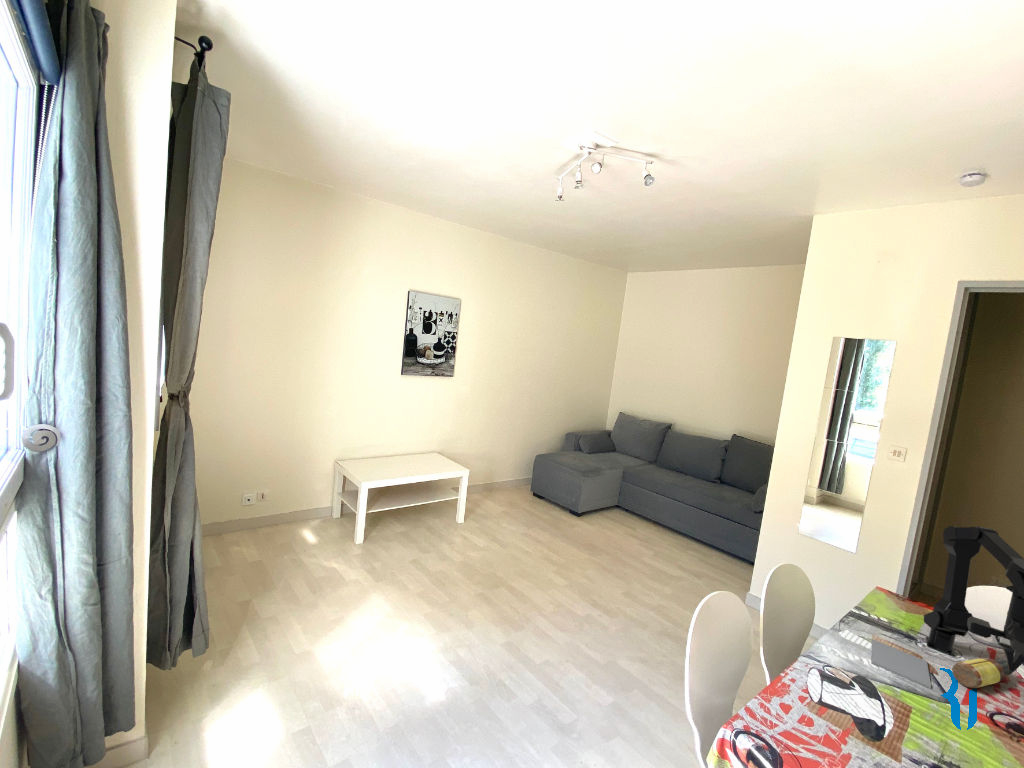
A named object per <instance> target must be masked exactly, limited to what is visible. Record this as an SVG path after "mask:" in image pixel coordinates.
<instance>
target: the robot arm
mask: <svg viewBox="0 0 1024 768" xmlns="http://www.w3.org/2000/svg"><path fill="white" fill-rule="evenodd" d="M942 536H943V545H944V547H945V548H946V550H947V552H948V558H947V566H946V573H945V579H944V586H943V594H942V598H940V599H939V600H938V601H937V602H936V603H935V604H934V605H933V609H932V611H931V612H928V613H926V614H924V615H923V622H924V624H926V625H927V627H929V628H930V631H929V635H928V636H925V642H926V646H927V647H928V648H931V649H934V650H936V651H938V652H940V653H944V654H946V655H949V656H952V657H955V656H956V654H955V650H954V644H955V640H956V636H961V637H966V635H967V634H968V632H969V633H971V634H974V635H977V636H980V637H982V638H985V639H987V638H991V637H992V636H993V637H994V638H995V639H996V643H997V644H998V646H1000V647H1002V648H1003V651H1004V655H1005V660H1006V661H1007V664H1008V668H1009V670H1010V671H1012V672H1013V673H1014V672H1015V671H1017V669H1019V668H1020V667H1021V666H1022V665H1023V664H1024V557H1023V556H1021V555H1020V553H1019V552H1017V551H1016V550H1015V549H1014V548H1013V547H1012V546H1010V544H1008V543H1007V542H1006V541H1005V540H1004V539H1003V538H1002V537H1001V536H1000V535H999V533H998V532H997V530H995V529H993V528H987V527H983V526H970V527H963V526H962V527H960V526H953V525H949V526H947V527H945V528H944V530H943V532H942ZM982 547H983V548H984V549H985V550H986V551H987V552H988V553H990V555H991V556H993V558H994V559H995V560H996V561H997V562H998V563H999V564H1000V565H1001V566H1002V567H1004V569H1005V576H1006V577H1007V579H1008V580H1009V582H1010V583H1011V585H1008V586H1006V587H1005V589H1006V590H1008V591H1009V592H1010V593H1011V598H1010V602H1009V607H1008V610H1007V613H1006V618H1005V622H1004V626H1003V630H1001V629H999V628H995V627H992V626H991V624H990V622H989V621H987V620H985V619H981V618H978V617H976V616H973V614H972V613H970V612H969V609H967V607H966V597H967V590H968V582H969V575H970V569H971V561H972V559H973V558H975V556H977V555H978V554H979V553H980V552H981V548H982Z"/></svg>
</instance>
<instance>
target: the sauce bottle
mask: <svg viewBox="0 0 1024 768" xmlns="http://www.w3.org/2000/svg"><path fill="white" fill-rule="evenodd" d="M951 671H952V672H951V673H952V675H953V677H954V678H955V680H957V682H958V683H960V685H962V686H964V687H966V688H971V689H978V688H982V687H986V686H989V685H994V684H998V683H999V682H1000V681H1002V680H1004V678H1006V676H1010V675H1012V674H1013V673H1014V672H1012V671H1010V670H1009V668H1008V664H1007V660H1006V659H1003V658H997V659H991V658H988V657H979V658H973V659H967V660H963V661H959V662H956V663H955V664H954V665H953V666H952V668H951Z"/></svg>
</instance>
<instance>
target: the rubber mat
mask: <svg viewBox="0 0 1024 768" xmlns="http://www.w3.org/2000/svg"><path fill="white" fill-rule="evenodd" d="M870 657H871V660H870V661H871V664H872V665H874V666H876V667H879V668H881V669H883V670H885V671H888V672H891V673H893V674H895V675H897V676H900V677H902V678H904V679H907V680H909V681H911V682H914V683H915V684H916V683H917V684H918V685H921V686H923V687H926V688H928V689H930V690H931V689H932V685H931V678H930V671H929V665H928V660H926V659H923V658H921V657H918V656H915V655H913V654H911V653H907V652H905V651H903V650H901V649H898V648H896V647H892V646H890V645H887V644H885V643H883V642H880V641H877V640H875V639H873V638H872V641H871V656H870Z"/></svg>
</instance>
